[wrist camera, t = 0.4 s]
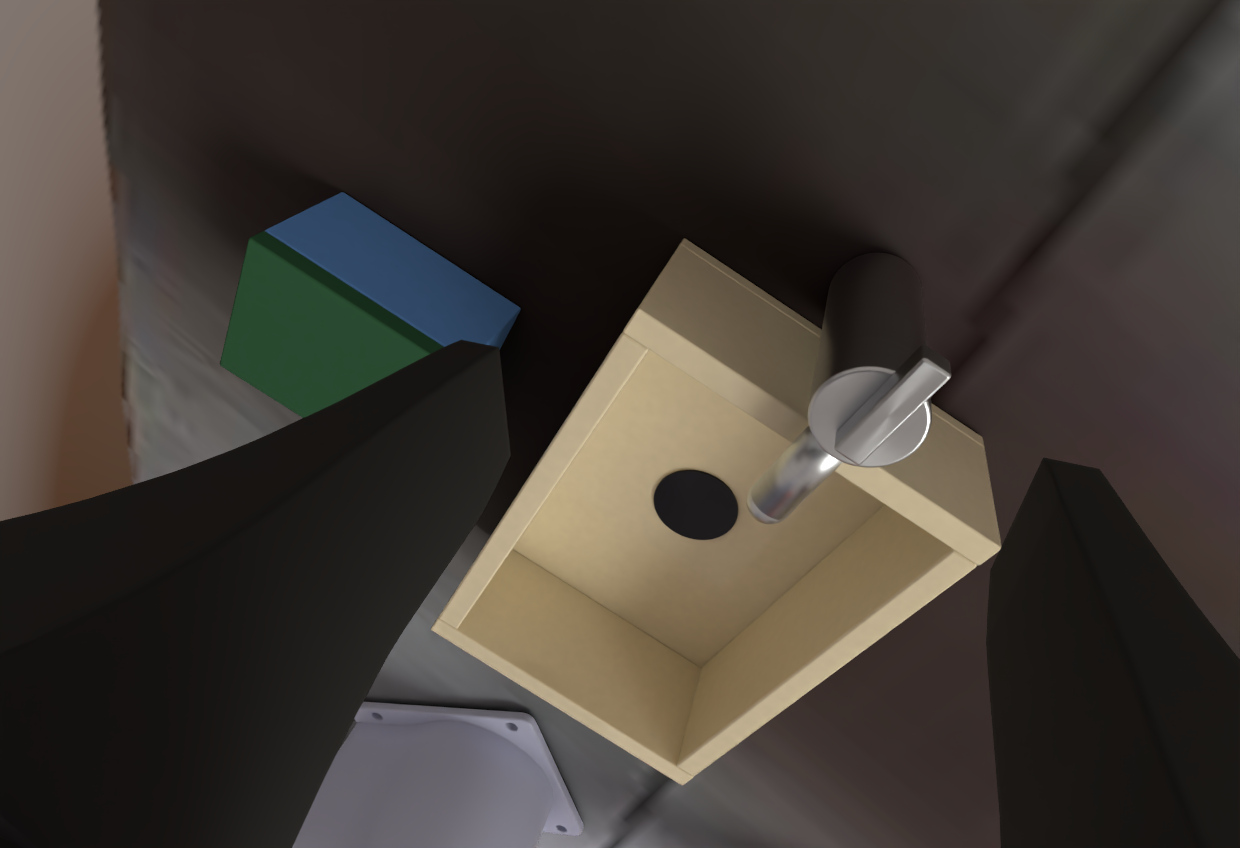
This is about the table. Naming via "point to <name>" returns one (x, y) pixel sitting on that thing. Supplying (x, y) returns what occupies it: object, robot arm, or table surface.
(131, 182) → the table surface
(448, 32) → the table surface
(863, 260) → the tap
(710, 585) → the basin
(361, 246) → the sponge
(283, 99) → the table surface
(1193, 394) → the table surface
